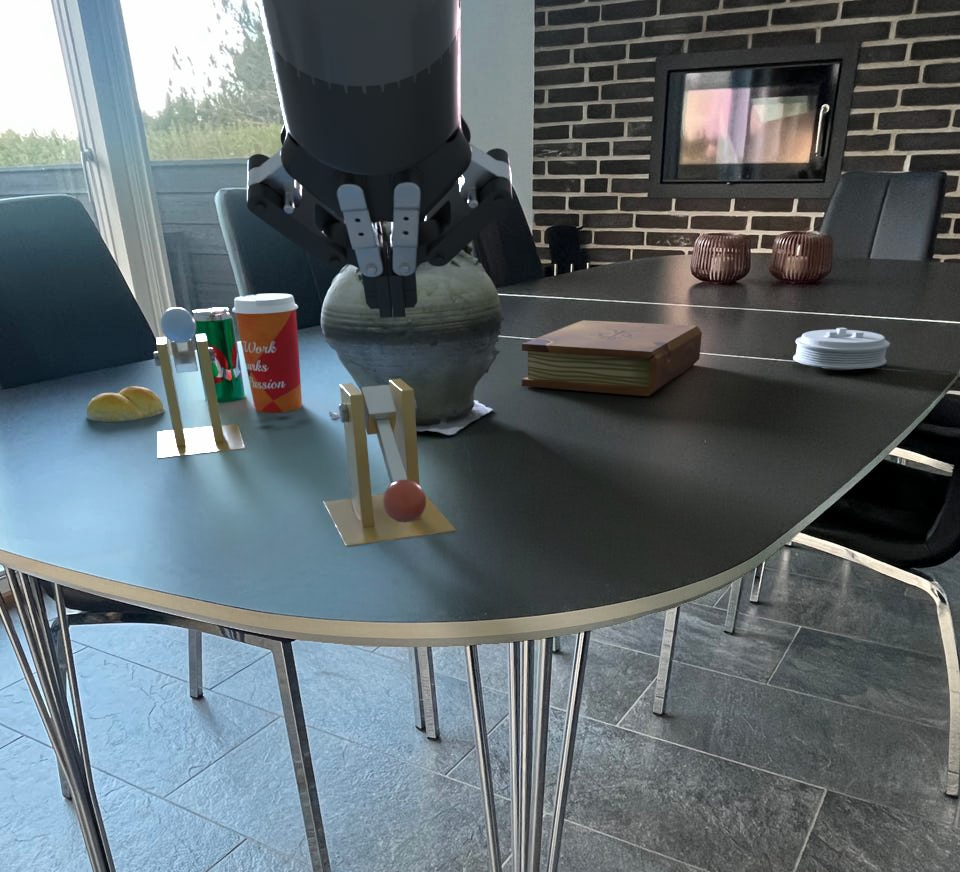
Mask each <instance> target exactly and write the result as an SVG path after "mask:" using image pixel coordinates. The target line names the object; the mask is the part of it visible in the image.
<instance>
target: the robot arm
mask: <svg viewBox="0 0 960 872" xmlns="http://www.w3.org/2000/svg"><path fill="white" fill-rule="evenodd" d="M257 4H258V7H259V13H260V17H261V21H262V27H263V31H264V35H265V40H266V44H267V49H268V53H269V57H270V62H271V67H272V71H273V76H274V79H275V84H276V89H277V94H278V98H279V103H280V108H281V113H282V116H283V120H284V121H283V122H284V124H283V126H282V128H281V132H280V143H281V149H280V150H278V151H276V153H275V154H273V155H272V156H271V157H269V156H268V155H266V154H262V153H256V154H252V155H251V156H249V157H248V159H247V178H246V179H247V181H246V183H247V184H246V206H247V210H249V212H250V213H251V214H253V215H255V216H256V217H257V218H259V219H260V220H262V221H263V222H264V223H265V224H267V225H268V226H270V227H271V228H273V230H275V231H277V232H278V233H279V234H281V235H282V236H283V237H284V238H286V239H287V240H289V241H290V242H292V243H293V244H295V245H296V246H297V247H299V248H300V249H301V250H303V251H304V252H305V253H307V254H308V255H309V256H311V257H312V258H314V259H315V260H316V261H318V262H319V263H321V264H322V265H324V266H325V267H326V268H328V269H331V270H342V268H343V267H345V266H346V264H349V265H353V266H355V267H357V268H358V269H359V270H360V271H361V274H362V280H363V286H364V293H365V299H366V304H367V305H368V306H369V308H370V309H379V313H380V318H393V317H406V308H414V307H415V305H416V303H417V283H416V268H417V267H418V266H419V265H420V264H422V263H424V262H428V263H429V264H431V265H433V266H437V267H440V266H444V265H446V264H448V263H449V262H450V261H451V260H452V259H453V258H454V257H455V256H456V255H457V254H458V253H459V252H460V251H461V250H463V249H464V248H465V247H466V246H467V245H468V244H469V243H470V242H472V241H473V240H475V238H476V237H478V236H479V235H480V234H481V233H482V232H483V231H484V230H485V229H486V228H487V227H489V226H490V224H491V223H493V222H494V221H495V220H496V219H497V218H498V217H499V216H500V215H501V214H502V213H503V212H504V211H506V209H507V208H508V207H510V206H511V205H512V203H513V189H512V188H513V183H512V171H511V167H510V156H509V153H508V152H507V151H506V150H505V149H503V148H500V147H499V148H496V147H495V148H492V149H490V150H488V151H487V152H485V151H483V150H481V149H480V148H478V147H477V146H475V145H474V144H472V143H471V137H472V136H471V130H470V127H469V124H468V122H466V120H465V118H464V117H463V115H462V113H461V111H462V110H461V109H462V107H461V105H462V104H461V103H462V101H461V99H462V97H461V96H462V95H461V94H462V0H257ZM458 179H459V182H458V183H457V184H456V185H455V186H454V187H453V188H452V189H451V190H450V191H449V192H448V193H447V191H448V190H449V189H450V188H451V187H452V186H453V185H454V184H455V182H456V181H457V180H458ZM446 193H447V194H446ZM445 194H446V195H445ZM444 195H445V196H444ZM443 196H444V197H443ZM442 197H443V198H442ZM441 198H442V199H441ZM440 199H441V201H440V202H439V203H438V201H439V200H440ZM437 203H438V204H437ZM436 204H437V205H436ZM435 205H436V206H435ZM434 206H435V207H434ZM433 207H434V208H433ZM432 208H433V209H432ZM431 209H432V210H431ZM430 210H431V211H430ZM429 211H430V212H429ZM428 212H429V213H428ZM426 213H428V214H427V215H426V217H425V221H424V222H420V223H419V217H421V216H423V215H425V214H426ZM381 221H387V222H391V237H390V238H391V241H388V250H387V241H383V240H382V227H381V223H380V222H381ZM392 308H393V312H392Z"/></svg>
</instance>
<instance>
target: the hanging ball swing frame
mask: <svg viewBox="0 0 960 872" xmlns="http://www.w3.org/2000/svg"><path fill="white" fill-rule="evenodd" d="M155 339H156V345H155V346H156V350H157V351H154V352H153V358H154V363H155V367H160V370H161V376H162V381H163V386H164V390H165V391H164V392H165V396H166V401H167V406H168V411H169V417H170V421H171V426H172V430H171V429H170V430H163V431H157V432H156V459H166V458H176V457H185V456H194V455H204V454H211V453H212V454H213V453H220V452H232V451H241V450H246V445H245V443H244V439H243V436H242V433H241V430H240V427H239V424H238V423H231V424H230V423H229V424H222V420H221V414H220V409H219V408H220V407H219V403H218V401H217V395H216V390H215V384H214V378H213V372H212V366H211V362H215V356H214V350H213V348H208V342H207V338H206V335H205V334H199V335H196V340H197V345H198V351H199V357H200V363H201V368H202V374H203V380H204V386H205V391H206V397H207V401H206V403H207V407H208V408H207V409H208V413H209V419H210V420H209V421H210V426H202V427H201V426H200V427H192V428H184V424H183V417H182V412H181V408H180V402H179V397H178V391H177V385H176V381H175V375H174V370H173V366H172V359H171V355H170V349H169V344H168V338H167V337H166V336H161V337H156V338H155Z"/></svg>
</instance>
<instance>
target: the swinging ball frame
mask: <svg viewBox="0 0 960 872" xmlns="http://www.w3.org/2000/svg"><path fill="white" fill-rule="evenodd" d="M389 388H390V391H391V395H392V398H393V401H394V404H395V408H396V411H397V412H396V421H395V431H394V432H393V434H394V437H395V441H396V444H397V447H398V451H399V454H400V457H401V461H402V464H403V468H404V471H405V474H406V478H407V480H411V481H413V482H415V483H417V484H418V485H419V486H420V487H421V485H420V484H421V483H420V469H419V452H418V436H417V435H418V434H417V433H418V432H417V431H416V416H415V415H416V413H417V405H416V400H415V398H414V390H413V389H412V388H411V387H410V386H409V385H407V384H406V383H405V382H404V381H403V380H401V379H391V380H389ZM339 390H340V399H341V400H340V401H341V403H340V404H339V405H338V413H339V415H340V416H339V419H340V422H341V423H342V424H343V432H344V441H345V449H346V451H345V452H346V460H347V469H348V480H349V490H350V497H349V498H348V497H347V498H341V499H339V498H338V499H332V500H326V501H325V500H324V501H323V505H324V506H325V509H326V512H327V513H328V515H329V517H330V519H331V521H332V523H333V525H334V527H335V529H336V530H337V533H338V535H339V536H340V539H341V541H342V542H343V544H344V546H345V547H347V548H348V547H353V546H361V545H366V544H374V543H382V542H388V541H395V540H400V539H401V540H402V539H409V538H416V537H422V536H430V535H436V534H437V535H438V534H445V533H452V532H457V529H456V528H455V527H454V526H453V525H452V523H451V522H450V520H448V519H447V518H446V516H445V515H444V514H443V513H442V511H440V509H439V508H438V507H437V506H436V504H435V503H434V502H433V501H432V500H431V498H430V497H429V496H428V495H427V494H426V492H424V494H425V497H426V506H425V509H424V511H423V513H422V514H421V516H420V517H419V518H417V519H416V520H414V521H412V522H408V523H402V522H398V521H395V520H394V519H392V518H391V517H390V516H389V515H388V514H387V513H386V511H385V508H384V505H383V497H384V493H380V494H379V493H378V494H372V484H371V483H372V482H371V472H370V459H369V449H368V448H369V447H368V439H367V438H368V437H367V431H366V426H365V414H364V403H363V395H362V394H361V391H360V389H359V388H357V387H356V386H355V385H354V383H353V382H350V383H340V384H339Z"/></svg>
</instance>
